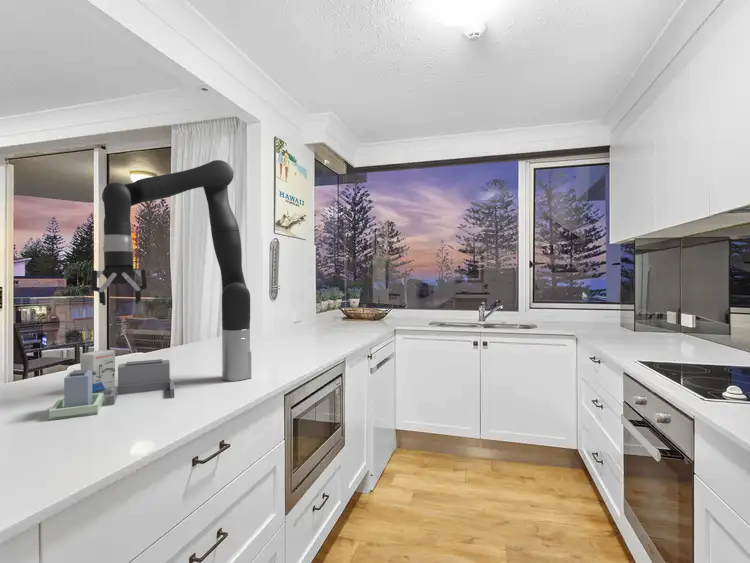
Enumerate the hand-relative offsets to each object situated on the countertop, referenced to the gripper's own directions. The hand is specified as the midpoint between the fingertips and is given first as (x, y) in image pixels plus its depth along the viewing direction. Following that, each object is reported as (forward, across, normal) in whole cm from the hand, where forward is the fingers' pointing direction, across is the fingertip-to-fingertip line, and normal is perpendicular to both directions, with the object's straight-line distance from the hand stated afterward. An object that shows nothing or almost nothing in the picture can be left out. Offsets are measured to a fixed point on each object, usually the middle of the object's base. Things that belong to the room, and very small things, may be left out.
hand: (120, 304), depth 126 cm
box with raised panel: (+26, +10, +13) cm, 31 cm away
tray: (+27, +10, +13) cm, 31 cm away
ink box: (+27, +7, -10) cm, 30 cm away
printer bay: (+27, -5, +3) cm, 28 cm away
